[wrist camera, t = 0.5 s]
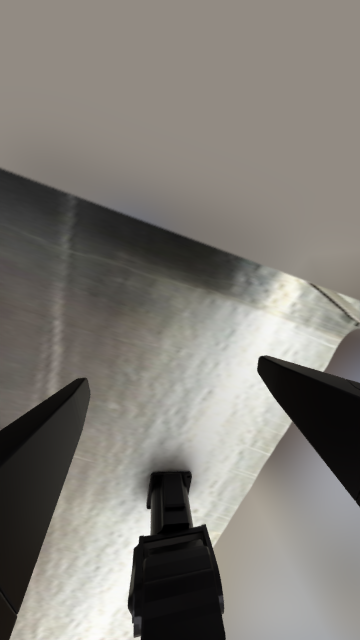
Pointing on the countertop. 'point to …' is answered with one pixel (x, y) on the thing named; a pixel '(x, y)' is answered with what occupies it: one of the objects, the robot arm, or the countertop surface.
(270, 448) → the countertop surface
